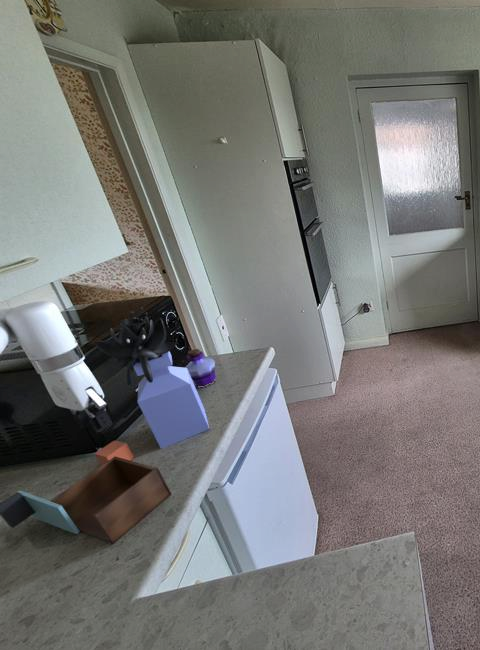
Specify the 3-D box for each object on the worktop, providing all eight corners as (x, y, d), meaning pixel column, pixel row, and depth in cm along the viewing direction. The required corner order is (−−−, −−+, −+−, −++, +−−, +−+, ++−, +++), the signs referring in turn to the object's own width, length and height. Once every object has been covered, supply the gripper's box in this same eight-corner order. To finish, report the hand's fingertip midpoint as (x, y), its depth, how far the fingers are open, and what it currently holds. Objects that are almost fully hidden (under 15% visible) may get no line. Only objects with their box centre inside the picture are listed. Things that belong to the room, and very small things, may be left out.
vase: (146, 458, 93) (79, 331, 79) (147, 433, 102) (86, 315, 88) (212, 430, 101) (161, 310, 87) (207, 410, 109) (160, 297, 95)
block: (102, 467, 91) (93, 453, 90) (122, 454, 95) (114, 440, 93) (114, 471, 90) (106, 457, 88) (134, 457, 94) (126, 443, 92)
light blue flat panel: (54, 551, 71) (32, 522, 68) (12, 533, 76) (-10, 505, 73) (80, 531, 75) (59, 503, 72) (38, 515, 79) (18, 488, 76)
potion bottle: (184, 389, 121) (170, 356, 116) (208, 374, 128) (195, 342, 123) (204, 392, 118) (190, 359, 113) (227, 377, 125) (215, 345, 120)
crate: (113, 544, 73) (95, 516, 69) (69, 526, 77) (50, 500, 74) (171, 494, 82) (158, 468, 79) (129, 481, 87) (115, 456, 84)
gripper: (12, 364, 80) (56, 431, 88) (61, 373, 75) (103, 444, 82) (55, 346, 87) (92, 411, 94) (104, 353, 81) (139, 421, 89)
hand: (97, 425), depth 88 cm, fingers open, 4 cm apart
